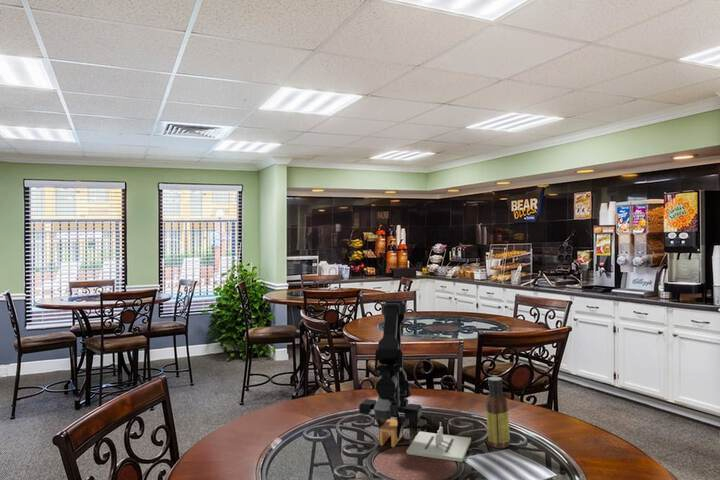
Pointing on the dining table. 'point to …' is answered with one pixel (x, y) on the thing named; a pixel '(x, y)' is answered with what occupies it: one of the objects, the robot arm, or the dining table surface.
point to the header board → (439, 446)
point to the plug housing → (389, 432)
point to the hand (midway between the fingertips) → (391, 436)
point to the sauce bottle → (497, 415)
